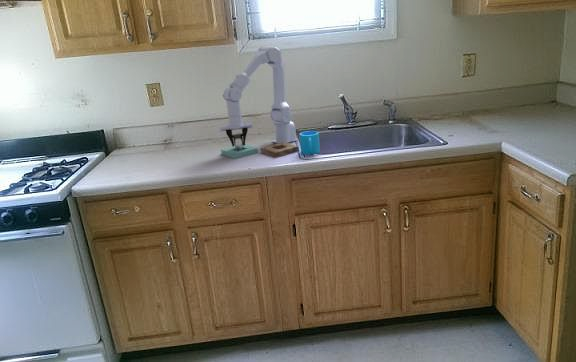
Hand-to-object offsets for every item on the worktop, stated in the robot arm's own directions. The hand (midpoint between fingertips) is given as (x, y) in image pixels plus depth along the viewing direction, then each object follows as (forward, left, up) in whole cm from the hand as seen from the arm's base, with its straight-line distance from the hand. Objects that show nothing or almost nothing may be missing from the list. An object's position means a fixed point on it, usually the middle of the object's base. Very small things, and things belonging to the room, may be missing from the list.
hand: (238, 145), depth 201 cm
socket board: (0, 0, -4) cm, 4 cm away
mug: (-20, +26, -4) cm, 33 cm away
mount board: (-13, +13, -4) cm, 19 cm away
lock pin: (0, 0, -3) cm, 3 cm away
